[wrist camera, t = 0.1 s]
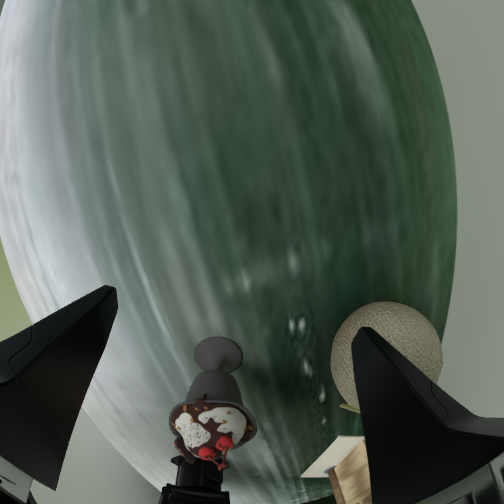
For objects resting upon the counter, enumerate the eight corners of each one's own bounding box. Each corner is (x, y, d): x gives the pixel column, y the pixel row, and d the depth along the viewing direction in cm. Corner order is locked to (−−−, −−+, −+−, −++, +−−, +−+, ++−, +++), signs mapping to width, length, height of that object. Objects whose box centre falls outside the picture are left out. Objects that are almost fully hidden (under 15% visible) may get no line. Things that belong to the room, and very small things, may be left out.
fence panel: (339, 468, 34) (352, 506, 25) (332, 468, 33) (345, 507, 25) (368, 439, 32) (387, 479, 23) (361, 439, 32) (380, 480, 23)
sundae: (246, 325, 26) (258, 452, 12) (252, 377, 28) (265, 496, 13) (180, 330, 26) (142, 451, 12) (193, 381, 28) (175, 496, 13)
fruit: (313, 289, 26) (385, 393, 11) (410, 283, 27) (505, 348, 12) (304, 375, 28) (343, 484, 14) (391, 361, 29) (455, 441, 14)
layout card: (300, 475, 34) (300, 477, 34) (339, 435, 32) (339, 437, 32) (354, 474, 36) (354, 475, 36) (394, 435, 34) (395, 436, 33)
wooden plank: (325, 472, 34) (337, 512, 25) (330, 467, 34) (343, 507, 25) (359, 470, 35) (374, 505, 26) (365, 465, 35) (380, 501, 26)
